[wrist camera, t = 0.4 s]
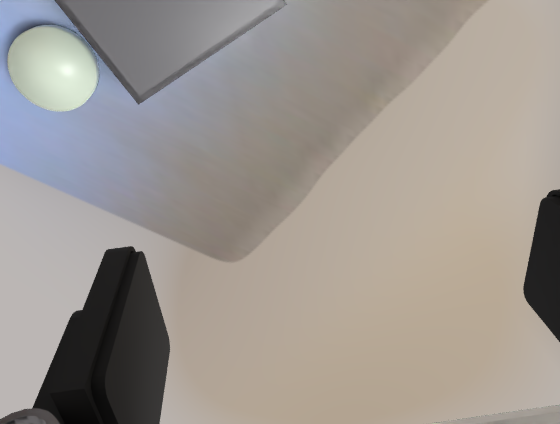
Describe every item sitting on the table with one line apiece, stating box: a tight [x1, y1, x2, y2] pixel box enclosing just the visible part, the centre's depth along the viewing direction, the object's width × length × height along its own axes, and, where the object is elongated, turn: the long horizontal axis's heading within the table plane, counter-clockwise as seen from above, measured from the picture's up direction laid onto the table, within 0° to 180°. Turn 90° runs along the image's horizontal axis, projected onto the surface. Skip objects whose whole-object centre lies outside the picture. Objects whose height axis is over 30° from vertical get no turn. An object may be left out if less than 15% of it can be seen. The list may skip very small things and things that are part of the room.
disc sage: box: [7, 25, 99, 111], centre depth 41 cm, size 7×7×2 cm
